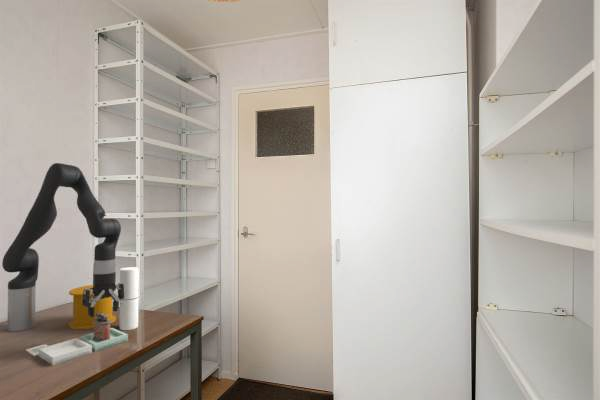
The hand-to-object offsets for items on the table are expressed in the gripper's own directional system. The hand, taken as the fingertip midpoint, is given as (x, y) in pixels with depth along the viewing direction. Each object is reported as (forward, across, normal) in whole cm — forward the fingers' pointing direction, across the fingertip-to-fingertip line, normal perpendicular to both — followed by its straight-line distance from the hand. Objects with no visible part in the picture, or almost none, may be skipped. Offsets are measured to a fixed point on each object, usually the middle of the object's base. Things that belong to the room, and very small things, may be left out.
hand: (103, 313), depth 132 cm
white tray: (+11, +13, 0) cm, 17 cm away
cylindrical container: (+11, -14, -8) cm, 20 cm away
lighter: (+10, 0, 0) cm, 10 cm away
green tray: (+11, 0, 0) cm, 11 cm away
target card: (+11, +17, -11) cm, 23 cm away
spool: (+12, -8, -27) cm, 30 cm away
